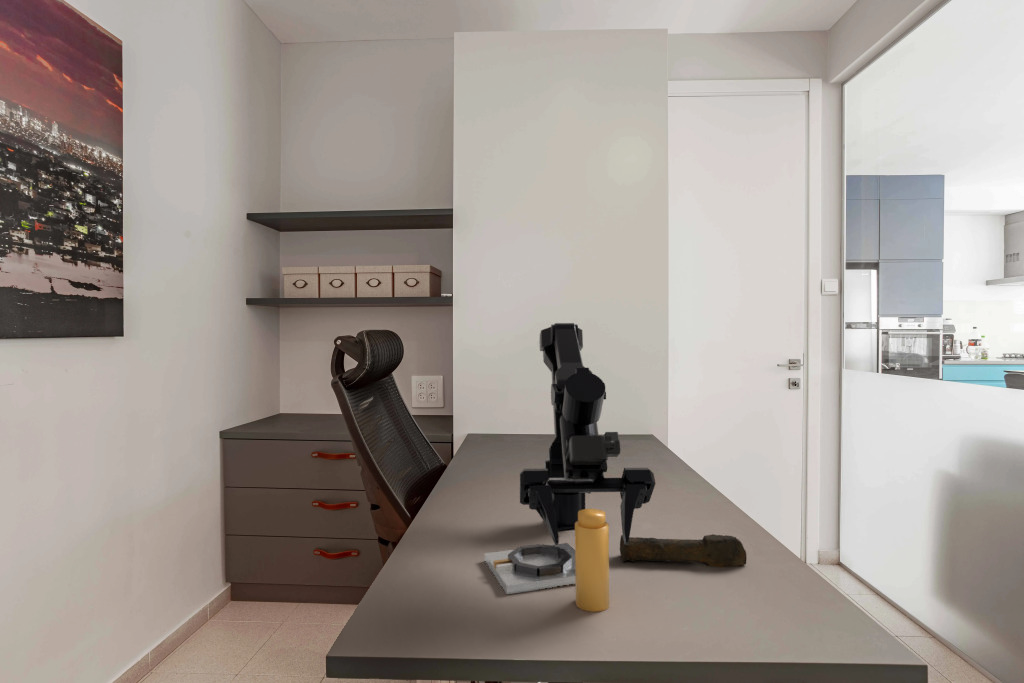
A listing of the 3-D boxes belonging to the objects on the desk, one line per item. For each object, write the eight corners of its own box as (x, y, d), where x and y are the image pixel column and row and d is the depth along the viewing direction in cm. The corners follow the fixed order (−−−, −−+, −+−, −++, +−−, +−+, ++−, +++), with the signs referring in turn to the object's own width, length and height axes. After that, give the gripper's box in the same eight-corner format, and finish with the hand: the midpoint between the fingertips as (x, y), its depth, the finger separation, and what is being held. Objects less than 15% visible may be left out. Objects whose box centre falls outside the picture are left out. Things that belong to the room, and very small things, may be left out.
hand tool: (619, 565, 88) (619, 536, 88) (619, 555, 92) (619, 527, 91) (749, 575, 84) (750, 544, 84) (744, 564, 88) (744, 534, 88)
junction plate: (567, 550, 93) (567, 536, 93) (599, 580, 82) (599, 565, 82) (484, 561, 89) (484, 547, 89) (506, 594, 78) (506, 578, 78)
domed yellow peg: (600, 593, 78) (599, 506, 77) (615, 608, 73) (614, 516, 73) (570, 598, 76) (569, 509, 76) (584, 614, 72) (583, 519, 72)
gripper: (519, 411, 80) (521, 514, 69) (651, 410, 80) (675, 513, 69) (518, 456, 88) (520, 554, 77) (639, 455, 88) (658, 553, 77)
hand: (591, 543), depth 75 cm, fingers open, 9 cm apart
